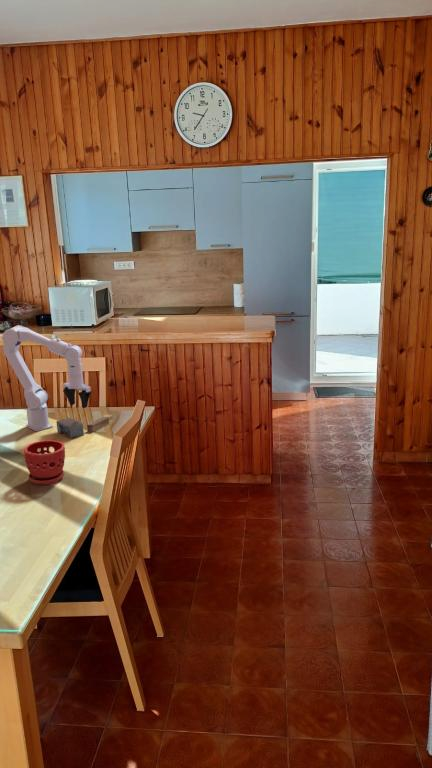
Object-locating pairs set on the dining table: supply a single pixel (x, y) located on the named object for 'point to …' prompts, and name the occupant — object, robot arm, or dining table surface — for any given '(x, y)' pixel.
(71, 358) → the robot arm
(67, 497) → the dining table surface
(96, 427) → the capped rod
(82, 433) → the sleeve housing
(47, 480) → the plant pot
